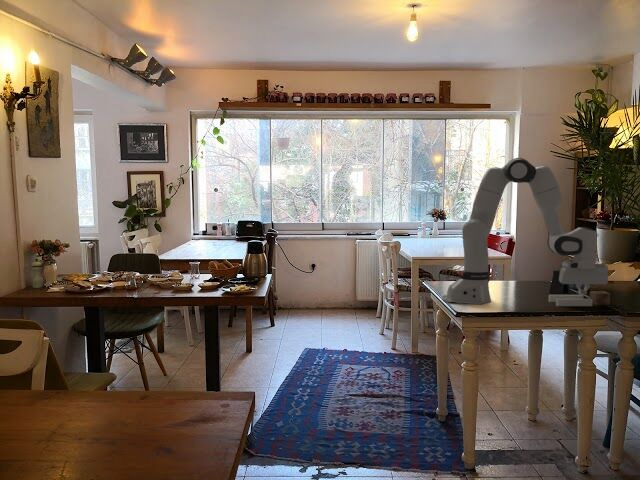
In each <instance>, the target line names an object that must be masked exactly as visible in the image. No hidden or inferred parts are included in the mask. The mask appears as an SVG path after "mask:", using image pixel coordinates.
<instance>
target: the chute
mask: <svg viewBox="0 0 640 480" xmlns="http://www.w3.org/2000/svg"><path fill="white" fill-rule="evenodd" d="M584 296H585V294H548V302H549V303H551V304H553V305H555V306H556V307H593V299H590V298H584Z"/></svg>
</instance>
